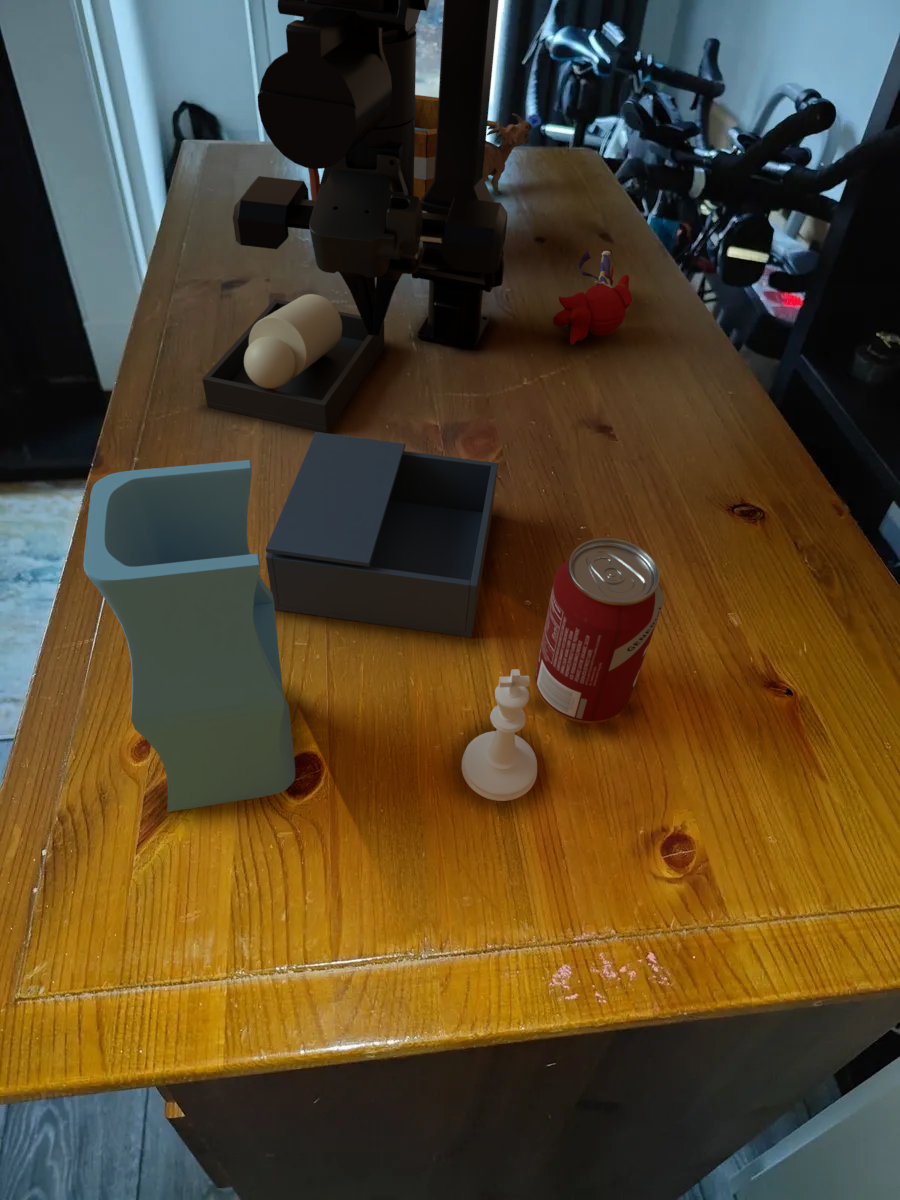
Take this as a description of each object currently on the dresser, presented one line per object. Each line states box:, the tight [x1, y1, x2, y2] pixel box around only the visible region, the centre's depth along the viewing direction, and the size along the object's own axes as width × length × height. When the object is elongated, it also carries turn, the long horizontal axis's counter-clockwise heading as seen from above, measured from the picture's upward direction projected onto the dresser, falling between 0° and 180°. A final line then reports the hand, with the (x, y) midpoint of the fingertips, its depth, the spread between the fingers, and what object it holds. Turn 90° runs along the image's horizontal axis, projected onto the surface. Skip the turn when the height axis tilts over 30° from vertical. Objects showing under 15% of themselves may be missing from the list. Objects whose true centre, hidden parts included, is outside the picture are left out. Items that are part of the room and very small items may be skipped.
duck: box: [244, 293, 342, 391], centre depth 80 cm, size 8×6×13 cm
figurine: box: [552, 248, 633, 346], centre depth 93 cm, size 6×8×15 cm
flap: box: [265, 431, 406, 567], centre depth 63 cm, size 14×7×1 cm, turn 172°
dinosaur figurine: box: [483, 113, 533, 195], centre depth 115 cm, size 14×6×9 cm, turn 139°
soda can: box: [534, 537, 664, 724], centre depth 55 cm, size 7×7×12 cm
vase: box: [83, 459, 296, 813], centre depth 47 cm, size 8×8×20 cm
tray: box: [202, 298, 386, 434], centre depth 84 cm, size 16×12×3 cm
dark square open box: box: [265, 450, 499, 638], centre depth 65 cm, size 14×15×6 cm
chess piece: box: [461, 668, 538, 802], centre depth 51 cm, size 5×5×10 cm
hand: (374, 333), depth 66 cm, fingers closed
